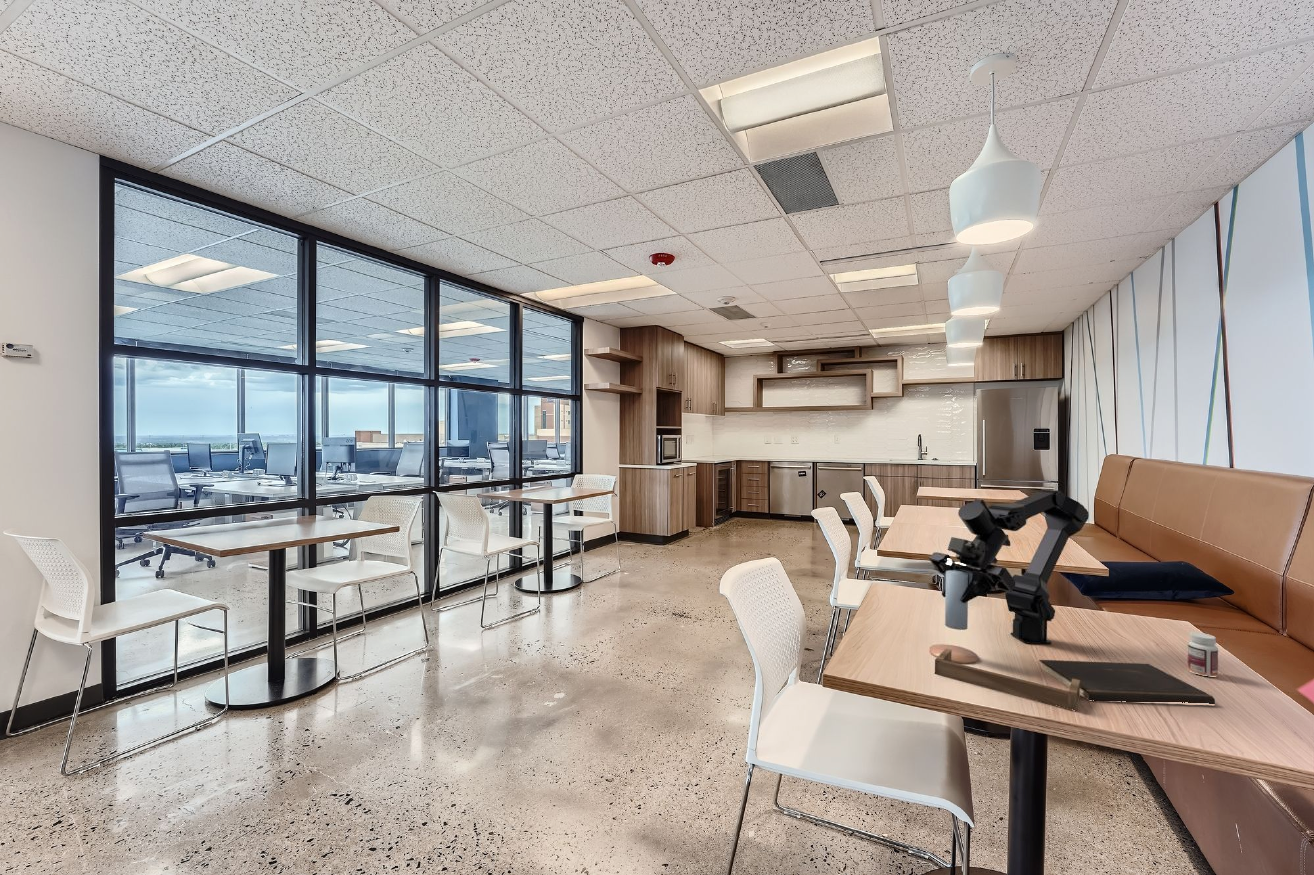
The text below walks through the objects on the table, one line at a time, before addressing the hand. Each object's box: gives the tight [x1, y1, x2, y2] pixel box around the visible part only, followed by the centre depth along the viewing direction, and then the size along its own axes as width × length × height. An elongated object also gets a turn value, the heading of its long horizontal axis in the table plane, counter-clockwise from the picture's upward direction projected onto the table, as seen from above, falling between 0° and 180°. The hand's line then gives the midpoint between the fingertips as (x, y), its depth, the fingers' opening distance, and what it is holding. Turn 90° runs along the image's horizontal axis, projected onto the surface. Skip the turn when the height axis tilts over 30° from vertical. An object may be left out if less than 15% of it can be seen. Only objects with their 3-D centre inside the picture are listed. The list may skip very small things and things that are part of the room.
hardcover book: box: [1038, 659, 1216, 705], centre depth 116 cm, size 16×23×2 cm
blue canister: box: [944, 570, 969, 631], centre depth 131 cm, size 5×5×12 cm
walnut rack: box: [934, 649, 1080, 711], centre depth 116 cm, size 9×24×3 cm, turn 49°
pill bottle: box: [1187, 632, 1219, 677], centre depth 123 cm, size 5×5×8 cm
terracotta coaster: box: [928, 643, 979, 665], centre depth 131 cm, size 10×10×1 cm
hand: (952, 598), depth 130 cm, fingers closed on blue canister, 5 cm apart
